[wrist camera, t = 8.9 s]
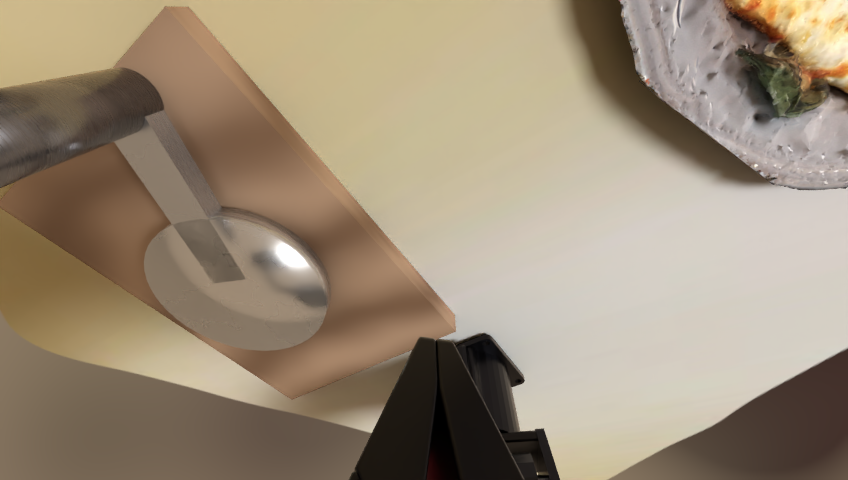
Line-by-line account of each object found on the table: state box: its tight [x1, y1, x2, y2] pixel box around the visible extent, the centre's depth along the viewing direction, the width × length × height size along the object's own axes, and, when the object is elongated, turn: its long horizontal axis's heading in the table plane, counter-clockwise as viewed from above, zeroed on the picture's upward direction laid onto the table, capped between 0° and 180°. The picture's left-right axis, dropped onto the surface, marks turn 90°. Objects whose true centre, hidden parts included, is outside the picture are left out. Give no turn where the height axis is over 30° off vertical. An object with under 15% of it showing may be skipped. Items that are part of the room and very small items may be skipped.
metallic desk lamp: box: [0, 67, 331, 351], centre depth 15 cm, size 17×10×8 cm, turn 11°
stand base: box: [0, 7, 456, 399], centre depth 21 cm, size 22×16×2 cm
